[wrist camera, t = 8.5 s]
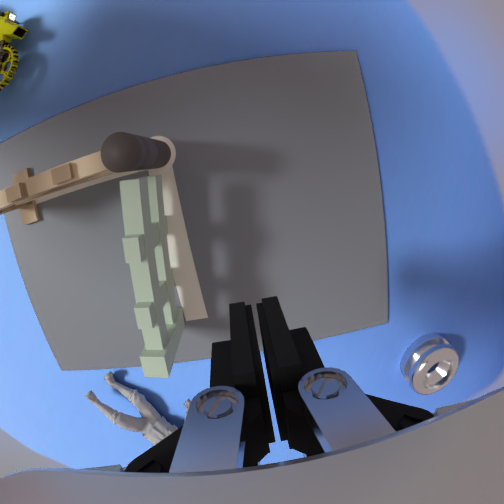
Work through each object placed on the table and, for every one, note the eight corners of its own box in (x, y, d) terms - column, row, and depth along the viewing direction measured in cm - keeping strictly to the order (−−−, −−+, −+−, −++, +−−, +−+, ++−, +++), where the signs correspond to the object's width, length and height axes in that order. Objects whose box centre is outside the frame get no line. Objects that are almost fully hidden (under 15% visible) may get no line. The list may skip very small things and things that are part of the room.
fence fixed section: (166, 121, 19) (130, 103, 12) (177, 181, 20) (146, 191, 13) (16, 174, 19) (-46, 184, 12) (27, 223, 20) (-32, 248, 13)
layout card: (-6, 147, 18) (-8, 147, 18) (354, 51, 18) (356, 50, 17) (62, 369, 24) (61, 370, 23) (386, 321, 23) (388, 322, 23)
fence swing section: (146, 175, 19) (109, 182, 13) (168, 173, 19) (138, 179, 13) (165, 326, 22) (144, 376, 16) (184, 325, 22) (168, 377, 16)
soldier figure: (132, 345, 24) (244, 440, 23) (135, 357, 28) (230, 438, 27) (69, 408, 20) (186, 508, 18) (82, 410, 24) (180, 495, 22)
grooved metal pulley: (426, 381, 25) (454, 338, 24) (440, 400, 23) (471, 355, 21) (389, 374, 25) (419, 327, 24) (402, 394, 22) (435, 344, 21)
